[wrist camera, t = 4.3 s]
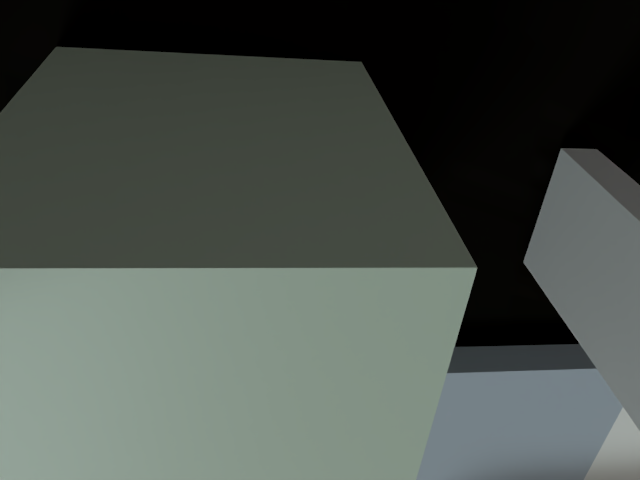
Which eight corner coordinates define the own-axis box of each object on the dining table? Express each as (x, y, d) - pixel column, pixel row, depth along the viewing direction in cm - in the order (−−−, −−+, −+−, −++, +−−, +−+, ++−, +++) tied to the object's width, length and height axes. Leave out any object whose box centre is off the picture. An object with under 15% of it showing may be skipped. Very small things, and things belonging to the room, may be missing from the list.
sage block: (57, 45, 10) (-132, 269, 5) (360, 61, 10) (477, 267, 5) (95, 289, 12) (2, 590, 7) (332, 287, 13) (393, 561, 8)
